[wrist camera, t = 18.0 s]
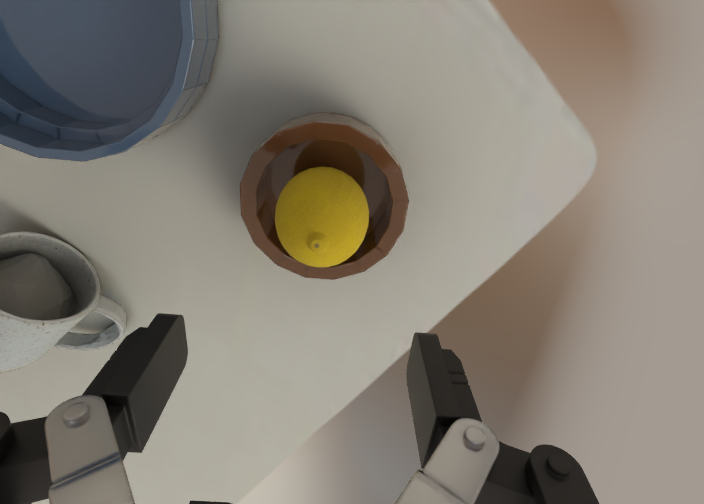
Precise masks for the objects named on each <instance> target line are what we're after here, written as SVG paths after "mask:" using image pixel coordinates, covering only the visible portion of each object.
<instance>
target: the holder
mask: <svg viewBox="0 0 704 504" xmlns="http://www.w3.org/2000/svg"><path fill="white" fill-rule="evenodd" d="M315 167H332V168H335V169H338V170H341V171H343V172H344V173H346V174H348V175H349V176H351V177H352V178H353V179H354V180H355V181H356V182H357V183H358V184H359V186H360V187H361V189H362V191H363V193H364V195H365V197H366V200H367V204H368V208H369V223H368V228H367V231H366V234H365V237H364V240H363V242H362V243H361V245H360V246H359V248H358V249H357V251H356V252H355V253H354V254H353V255H352V256H350V257H349V258H348V259H347V260H345V261H343V262H341V263H340V264H338V265H334V266H330V267H313V266H308V265H306V264H303V263H301V262H299V261H297V260H296V259H295V258H293V257H292V256H290V254H289V253H288V252H287V251H286V250H285V249H284V247H283V246H282V244H281V242H280V240H279V238H278V235H277V230H276V225H275V211H276V204H277V202H278V199H279V196H280V193H281V192H282V190H283V189H284V187H285V186H286V184H287V183H288V182H289V181H290V180H291V179H292V178H293V177H295V176H296V175H297V174H298V173H300V172H303V171H305V170H307V169H309V168H315ZM240 200H241V216H242V218H243V220H244V223H245V225H246V227H247V229H248V231H249V233H250V235H251V237H252V240H253V242H254V243H255V245H256V246H257V247H258V248H260V249H261V250H262V251H263V252H264V253H265V254H266V255H267V256H268V257H269V258H270V259H271V260H272V261H273V262H274V263H275V264H277V265H278V266H280V267H282V268H285V269H287V270H289V271H292V272H294V273H296V274H298V275H301V276H303V277H307V278H320V279H332V280H334V279H338V278H342V277H346V276H350V275H353V274H357V273H361V272H364V271H365V270H367V269H368V268H370V267H371V266H373V265H374V264H375V263H377V262H378V261H380V260H381V259H383V258H384V257H385V256H387V255H388V254H389V252H390V251H391V249H392V247H393V246H394V244H395V243H396V241H397V240H398V238H399V237H400V235H401V234H402V232H403V230H404V226H405V220H406V214H407V208H408V203H409V200H408V194H407V190H406V186H405V182H404V179H403V175H402V171H401V168H400V165H399V162H398V160H397V158H396V156H395V154H394V153H393V152H392V150H391V149H390V147H389V146H388V144H387V143H386V141H385V140H384V139H383V138H382V137H381V136H380V135H379V134H378V133H377V132H376V131H375V130H373V129H372V128H371V127H369V126H368V125H366V124H365V123H363V122H361V121H359V120H357V119H355V118H352V117H349V116H346V115H342V114H337V113H312V114H308V115H304V116H300V117H298V118H295V119H293V120H291V121H289V122H287V123H285V124H283V125H282V126H281V127H280V128H279V129H277V130H276V131H275V132H274V133H273V134H272V135H271V136H270V137H269V138H268V139H267V140H266V141H264V142H263V143H262V144H261V145H260V147H259V148H258V149H257V150H256V151H255V152H254V153H253V155H252V157H251V159H250V161H249V164H248V166H247V169H246V171H245V173H244V176H243V178H242V181H241V183H240Z"/></svg>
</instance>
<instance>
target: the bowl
mask: <svg viewBox="0 0 704 504" xmlns="http://www.w3.org/2000/svg"><path fill="white" fill-rule="evenodd" d="M217 43H218V20H217V1H216V0H0V144H2V145H5V146H8V147H10V148H13V149H16V150H19V151H21V152H24V153H27V154H29V155H32V156H35V157H39V158H50V159H60V160H71V161H82V162H83V161H89V160H93V159H97V158H101V157H106V156H110V155H114V154H118V153H122V152H125V151H128V150H130V149H132V148H134V147H136V146H138V145H140V144H142V143H144V142H146V141H148V140H150V139H152V138H154V137H156V136H158V135H159V134H161V133H162V132H164V131H165V130H166V129H168V128H169V127H171V126H172V125H174V124H175V123H177V122H178V121H179V120H181V119H182V118H184V117H185V116H186V115H187V114H188V112H189V111H190V109H191V108H192V106H193V105H194V103H195V102H196V100H197V99H198V97H199V96H200V94H201V93H202V91H203V89H204V88H205V86H206V85H207V82H208V80H209V76H210V72H211V68H212V64H213V60H214V55H215V51H216V47H217Z"/></svg>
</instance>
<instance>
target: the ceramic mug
mask: <svg viewBox="0 0 704 504" xmlns="http://www.w3.org/2000/svg"><path fill="white" fill-rule="evenodd" d="M90 311H94V312H98V313H100V314H102V315H103V316H105V317H107V318H109V319H111V320H112V321H114V322H115V323H114V324H113V325H112V326H111V327H109V328H108V329H106V330H104V331H101V333H97V334H79V333H71V332H68V331H70V330H71V329H72V328H73V327H74V326H75V325H76V324H77V323H78V322H79V321H81V320H82V319H83V318H84V317H85V316H86V315H87V314H88V313H89V312H90ZM125 326H126V313H125V311H124V309H123V308H122V306H121V305H120V304H118V303H117V302H115V301H113V300H111V299H109V298H108V297H106V296H103V295H101V294H100V281H99V277H98V274H97V272H96V270H95V269H94V267H93V265H92V264H91V263H90V262H89V260H88V259H87V258H86V257H85V256H84V255H83V254H82V253H80V252H79V251H78V250H77V249H75V248H74V247H72V246H71V245H69V244H67V243H66V242H64V241H62V240H59V239H57V238H54V237H52V236H49V235H45V234H40V233H36V232H28V231H15V232H5V233H1V234H0V373H1V372H8V371H12V370H16V369H18V368H21V367H23V366H25V365H28V364H29V363H31V362H33V361H35V360H36V359H38V358H40V357H41V356H42V355H44V354H45V353H46V352H48V351H49V350H50V349H51V348H52V347H57V348H62V349H69V350H81V351H88V350H95V349H99V348H104V347H106V346H109V345H110V344H113V343H114V342H116V341H117V340H118V339H119V338H120V337H121V336H122V335H123V334H124V332H125Z"/></svg>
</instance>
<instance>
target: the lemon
mask: <svg viewBox="0 0 704 504" xmlns="http://www.w3.org/2000/svg"><path fill="white" fill-rule="evenodd" d="M368 223H369V208H368V204H367V200H366V197H365V195H364V193H363V191H362V189H361V187H360V186H359V184H358V183H357V182H356V181H355V180H354V179H353V178H352V177H351V176H349V175H348V174H346V173H344V172H343V171H341V170H338V169H335V168H332V167H315V168H309V169H307V170H305V171H303V172H300V173H298V174H297V175H296V176H295V177H293V178H292V179H291V180H290V181H289V182H288V183H287V184H286V186H285V187H284V189H283V190H282V192H281V193H280V196H279V199H278V202H277V204H276V211H275V225H276V230H277V235H278V238H279V240H280V242H281V244H282V246H283V247H284V249H285V250H286V251H287V252H288V253H289V254H290V256H292V257H293V258H295V259H296V260H297V261H299V262H301V263H303V264H306V265H308V266H313V267H330V266H334V265H338V264H340V263H341V262H343V261H345V260H347V259H348V258H349V257H350V256H352V255H353V254H354V253H355V252H356V251H357V249H358V248H359V246H360V245H361V243H362V242H363V240H364V237H365V234H366V231H367V228H368Z"/></svg>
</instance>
